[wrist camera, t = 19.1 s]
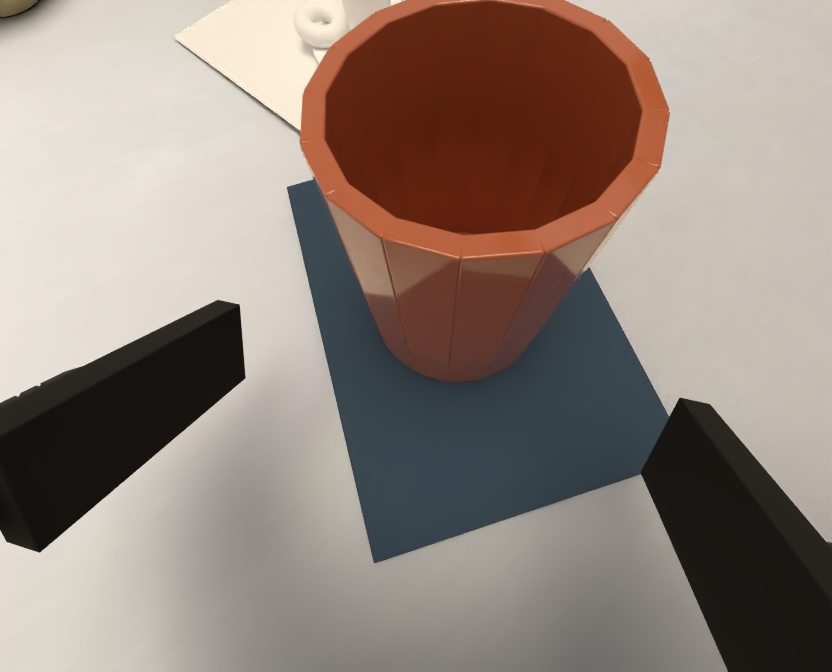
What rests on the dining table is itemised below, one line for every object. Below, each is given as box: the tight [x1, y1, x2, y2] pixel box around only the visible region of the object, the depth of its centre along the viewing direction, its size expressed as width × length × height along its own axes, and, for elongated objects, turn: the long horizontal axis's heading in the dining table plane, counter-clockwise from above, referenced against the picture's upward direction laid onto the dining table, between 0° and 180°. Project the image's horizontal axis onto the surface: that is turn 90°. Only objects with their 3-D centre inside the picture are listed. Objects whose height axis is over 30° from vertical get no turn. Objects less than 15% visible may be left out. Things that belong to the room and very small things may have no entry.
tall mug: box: [300, 0, 670, 382], centre depth 15 cm, size 11×8×11 cm
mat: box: [287, 180, 669, 563], centre depth 20 cm, size 20×14×1 cm
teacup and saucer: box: [292, 0, 405, 64], centre depth 24 cm, size 9×8×4 cm
